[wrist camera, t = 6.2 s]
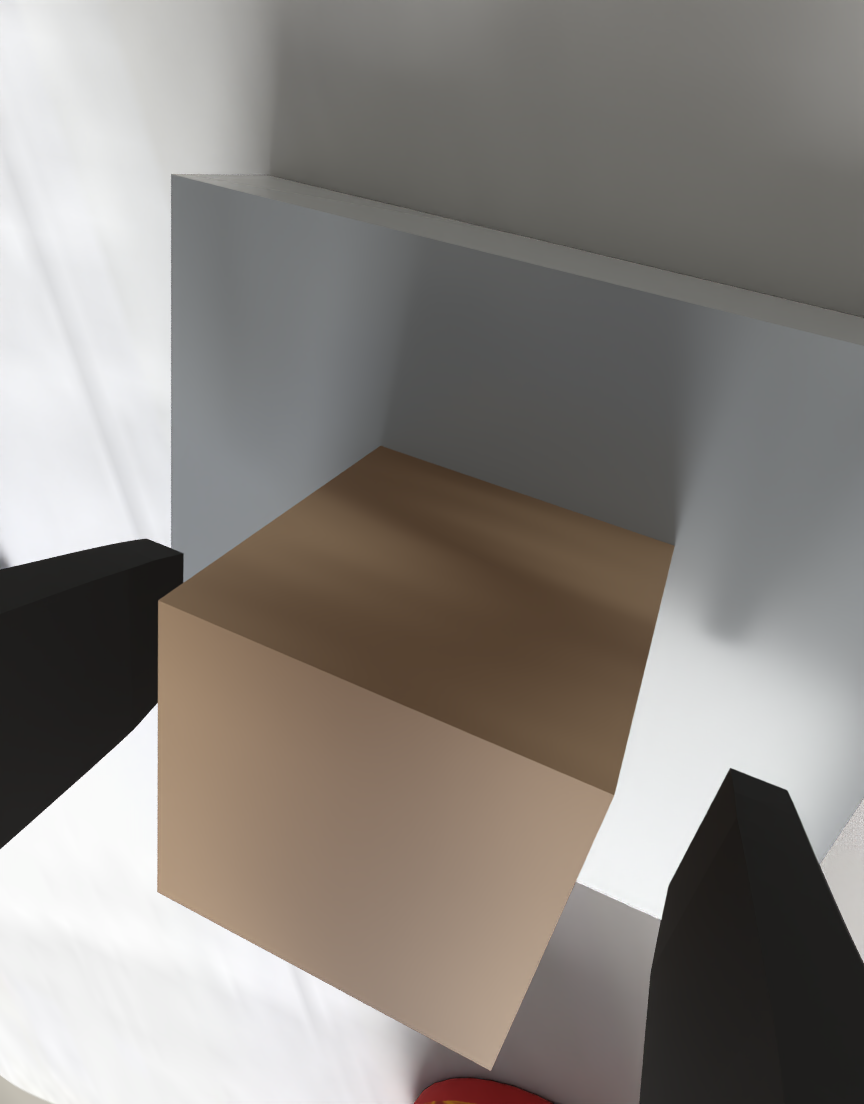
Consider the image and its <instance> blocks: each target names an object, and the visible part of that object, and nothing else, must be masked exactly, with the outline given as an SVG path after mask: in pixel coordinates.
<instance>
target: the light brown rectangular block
mask: <svg viewBox="0 0 864 1104" xmlns="http://www.w3.org/2000/svg"><path fill="white" fill-rule="evenodd" d="M674 547H675V546H674V545H671V544H668V543H665V542H662V541H659V540H656V539H653V538H650V537H647V536H644V535H641V534H639V533H636V532H633V531H630V530H627V529H624V528H621V527H618V526H615V525H612V524H609V523H606V522H603V521H600V520H597V519H594V518H592V517H589V516H586V515H583V514H580V513H577V512H574V511H571V510H568V509H565V508H562V507H559V506H556V505H553V504H550V503H547V502H545V501H542V500H539V499H536V498H533V497H530V496H527V495H524V494H521V493H518V492H515V491H512V490H509V489H506V488H503V487H500V486H498V485H495V484H492V483H489V482H486V481H483V480H480V479H477V478H474V477H471V476H468V475H465V474H462V473H459V472H456V471H453V470H451V469H448V468H445V467H442V466H439V465H436V464H433V463H430V462H427V461H424V460H421V459H418V458H415V457H412V456H409V455H406V454H404V453H401V452H398V451H395V450H392V449H389V448H386V447H383V446H379V447H378V448H376V449H375V450H373V451H372V452H371V453H369V454H368V455H366V456H365V457H363V458H362V459H361V460H359V461H358V462H356V463H355V464H353V465H352V466H351V467H349V468H348V469H346V470H345V471H343V472H342V473H340V474H339V475H338V476H336V477H335V478H333V479H332V480H330V481H329V482H328V483H326V484H325V485H323V486H322V487H320V488H319V489H317V490H316V491H315V492H313V493H312V494H310V495H309V496H307V497H306V498H305V499H303V500H302V501H300V502H299V503H297V504H296V505H295V506H293V507H292V508H290V509H289V510H287V511H286V512H284V513H283V514H282V515H280V516H279V517H277V518H276V519H274V520H273V521H272V522H270V523H269V524H267V525H266V526H264V527H263V528H261V529H260V530H259V531H257V532H256V533H254V534H253V535H251V536H250V537H249V538H247V539H246V540H244V541H243V542H241V543H240V544H239V545H237V546H236V547H234V548H233V549H231V550H230V551H228V552H227V553H226V554H224V555H223V556H221V557H220V558H218V559H217V560H216V561H214V562H213V563H211V564H210V565H208V566H207V567H205V568H204V569H203V570H201V571H200V572H198V573H197V574H195V575H194V576H193V577H191V578H190V579H188V580H187V581H185V582H184V583H183V584H181V585H180V586H178V587H177V588H175V589H174V590H172V591H171V592H170V593H168V594H167V595H165V596H164V597H162V598H161V599H160V600H158V876H157V892H158V893H160V894H162V895H164V896H166V897H168V898H170V899H172V900H173V901H175V902H177V903H179V904H181V905H183V906H185V907H186V908H188V909H190V910H192V911H194V912H196V913H198V914H199V915H201V916H203V917H205V918H207V919H209V920H211V921H212V922H214V923H216V924H218V925H220V926H222V927H224V928H225V929H227V930H229V931H231V932H233V933H235V934H237V935H238V936H240V937H242V938H244V939H246V940H248V941H250V942H252V943H253V944H255V945H257V946H259V947H261V948H263V949H265V950H266V951H268V952H270V953H272V954H274V955H276V956H278V957H279V958H281V959H283V960H285V961H287V962H289V963H291V964H292V965H294V966H296V967H298V968H300V969H302V970H304V971H305V972H307V973H309V974H311V975H313V976H315V977H317V978H318V979H320V980H322V981H324V982H326V983H328V984H330V985H332V986H333V987H335V988H337V989H339V990H341V991H343V992H345V993H346V994H348V995H350V996H352V997H354V998H356V999H358V1000H359V1001H361V1002H363V1003H365V1004H367V1005H369V1006H371V1007H372V1008H374V1009H376V1010H378V1011H380V1012H382V1013H384V1014H385V1015H387V1016H389V1017H391V1018H393V1019H395V1020H397V1021H398V1022H400V1023H402V1024H404V1025H406V1026H408V1027H410V1028H411V1029H413V1030H415V1031H417V1032H419V1033H421V1034H423V1035H425V1036H426V1037H428V1038H430V1039H432V1040H434V1041H436V1042H438V1043H439V1044H441V1045H443V1046H445V1047H447V1048H449V1049H451V1050H452V1051H454V1052H456V1053H458V1054H460V1055H462V1056H464V1057H465V1058H467V1059H469V1060H471V1061H473V1062H475V1063H477V1064H478V1065H480V1066H482V1067H484V1068H486V1069H488V1070H490V1071H491V1070H492V1067H493V1065H494V1063H495V1061H496V1058H497V1056H498V1054H499V1052H500V1050H501V1047H502V1045H503V1043H504V1041H505V1038H506V1036H507V1034H508V1032H509V1029H510V1027H511V1025H512V1023H513V1021H514V1018H515V1016H516V1014H517V1012H518V1009H519V1007H520V1005H521V1003H522V1000H523V998H524V996H525V994H526V992H527V989H528V987H529V985H530V983H531V980H532V978H533V976H534V974H535V971H536V969H537V967H538V965H539V962H540V960H541V958H542V956H543V954H544V951H545V949H546V947H547V945H548V942H549V940H550V938H551V936H552V933H553V931H554V929H555V927H556V925H557V922H558V920H559V918H560V916H561V913H562V911H563V909H564V907H565V904H566V902H567V900H568V898H569V896H570V893H571V891H572V889H573V887H574V884H575V882H576V880H577V878H578V875H579V873H580V871H581V869H582V867H583V864H584V862H585V860H586V858H587V855H588V853H589V851H590V849H591V846H592V844H593V842H594V840H595V838H596V835H597V833H598V831H599V829H600V826H601V824H602V822H603V820H604V817H605V815H606V813H607V811H608V809H609V806H610V804H611V802H612V800H613V797H614V795H615V791H616V787H617V783H618V778H619V774H620V770H621V766H622V762H623V758H624V754H625V750H626V745H627V741H628V737H629V733H630V729H631V725H632V721H633V717H634V712H635V708H636V704H637V700H638V696H639V692H640V688H641V683H642V679H643V675H644V671H645V667H646V663H647V659H648V655H649V650H650V646H651V642H652V638H653V634H654V630H655V626H656V622H657V617H658V613H659V609H660V605H661V601H662V597H663V593H664V589H665V584H666V580H667V576H668V572H669V568H670V564H671V560H672V555H673V551H674Z"/></svg>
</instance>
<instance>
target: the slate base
mask: <svg viewBox="0 0 864 1104" xmlns="http://www.w3.org/2000/svg"><path fill="white" fill-rule="evenodd" d="M379 446H383V447H386V448H389V449H392V450H395V451H398V452H401V453H404V454H406V455H409V456H412V457H415V458H418V459H421V460H424V461H427V462H430V463H433V464H436V465H439V466H442V467H445V468H448V469H451V470H453V471H456V472H459V473H462V474H465V475H468V476H471V477H474V478H477V479H480V480H483V481H486V482H489V483H492V484H495V485H498V486H500V487H503V488H506V489H509V490H512V491H515V492H518V493H521V494H524V495H527V496H530V497H533V498H536V499H539V500H542V501H545V502H547V503H550V504H553V505H556V506H559V507H562V508H565V509H568V510H571V511H574V512H577V513H580V514H583V515H586V516H589V517H592V518H594V519H597V520H600V521H603V522H606V523H609V524H612V525H615V526H618V527H621V528H624V529H627V530H630V531H633V532H636V533H639V534H641V535H644V536H647V537H650V538H653V539H656V540H659V541H662V542H665V543H668V544H671V545H674V546H675V547H674V551H673V555H672V560H671V564H670V568H669V572H668V576H667V580H666V584H665V589H664V593H663V597H662V601H661V605H660V609H659V613H658V617H657V622H656V626H655V630H654V634H653V638H652V642H651V646H650V650H649V655H648V659H647V663H646V667H645V671H644V675H643V679H642V683H641V688H640V692H639V696H638V700H637V704H636V708H635V712H634V717H633V721H632V725H631V729H630V733H629V737H628V741H627V745H626V750H625V754H624V758H623V762H622V766H621V770H620V774H619V778H618V783H617V787H616V791H615V795H614V797H613V800H612V802H611V804H610V806H609V809H608V811H607V813H606V815H605V817H604V820H603V822H602V824H601V826H600V829H599V831H598V833H597V835H596V838H595V840H594V842H593V844H592V846H591V849H590V851H589V853H588V855H587V858H586V860H585V862H584V864H583V867H582V869H581V871H580V873H579V875H578V878H577V880H576V882H577V883H579V884H582V885H584V886H586V887H588V888H590V889H593V890H595V891H597V892H599V893H602V894H604V895H606V896H608V897H610V898H613V899H615V900H617V901H619V902H622V903H624V904H626V905H628V906H630V907H633V908H635V909H637V910H639V911H642V912H644V913H646V914H648V915H650V916H653V917H655V918H657V919H659V920H661V919H662V914H663V909H664V904H665V900H666V895H667V890H668V886H669V884H670V882H671V880H672V878H673V876H674V874H675V872H676V870H677V868H678V866H679V864H680V863H681V861H682V859H683V857H684V855H685V853H686V851H687V849H688V847H689V845H690V843H691V842H692V840H693V838H694V836H695V834H696V832H697V830H698V828H699V826H700V824H701V822H702V821H703V819H704V817H705V815H706V813H707V811H708V809H709V807H710V805H711V803H712V801H713V800H714V798H715V796H716V794H717V792H718V790H719V788H720V786H721V784H722V782H723V780H724V779H725V777H726V775H727V773H728V771H729V769H730V768H732V769H735V770H737V771H740V772H742V773H745V774H747V775H750V776H753V777H755V778H758V779H760V780H763V781H765V782H768V783H770V784H773V785H775V786H778V787H781V788H783V789H786V790H787V791H788V793H789V795H790V797H791V799H792V801H793V803H794V805H795V808H796V810H797V812H798V815H799V817H800V819H801V822H802V824H803V827H804V829H805V831H806V834H807V836H808V839H809V841H810V843H811V846H812V848H813V851H814V853H815V855H816V858H817V860H818V862H819V865H820V863H821V862H822V860H823V859H824V857H825V856H826V854H827V853H828V851H829V850H830V848H831V847H832V845H833V844H834V842H835V841H836V839H837V838H838V836H839V835H840V833H841V832H842V830H843V829H844V827H845V826H846V824H847V823H848V821H849V820H850V818H851V817H852V815H853V814H854V812H855V811H856V809H857V808H858V806H859V805H860V803H861V802H862V800H863V799H864V318H863V317H859V316H854V315H850V314H846V313H842V312H838V311H834V310H829V309H825V308H821V307H817V306H813V305H809V304H804V303H800V302H796V301H792V300H788V299H783V298H779V297H775V296H771V295H767V294H763V293H758V292H754V291H750V290H746V289H742V288H738V287H733V286H729V285H725V284H721V283H717V282H712V281H708V280H704V279H700V278H696V277H692V276H687V275H683V274H679V273H675V272H671V271H667V270H662V269H658V268H654V267H650V266H646V265H641V264H637V263H633V262H629V261H625V260H621V259H616V258H612V257H608V256H604V255H600V254H595V253H591V252H587V251H583V250H579V249H575V248H570V247H566V246H562V245H558V244H554V243H550V242H545V241H541V240H537V239H533V238H529V237H524V236H520V235H516V234H512V233H508V232H504V231H499V230H495V229H491V228H487V227H483V226H479V225H474V224H470V223H466V222H462V221H458V220H453V219H449V218H445V217H441V216H437V215H433V214H428V213H424V212H420V211H416V210H412V209H408V208H403V207H399V206H395V205H391V204H387V203H382V202H378V201H374V200H370V199H366V198H362V197H357V196H353V195H349V194H345V193H341V192H337V191H332V190H328V189H324V188H320V187H316V186H311V185H307V184H303V183H299V182H295V181H291V180H286V179H282V178H278V177H274V176H270V175H208V174H171V549H174V550H177V551H179V552H182V553H184V569H183V583H184V582H185V581H187V580H188V579H190V578H191V577H193V576H194V575H195V574H197V573H198V572H200V571H201V570H203V569H204V568H205V567H207V566H208V565H210V564H211V563H213V562H214V561H216V560H217V559H218V558H220V557H221V556H223V555H224V554H226V553H227V552H228V551H230V550H231V549H233V548H234V547H236V546H237V545H239V544H240V543H241V542H243V541H244V540H246V539H247V538H249V537H250V536H251V535H253V534H254V533H256V532H257V531H259V530H260V529H261V528H263V527H264V526H266V525H267V524H269V523H270V522H272V521H273V520H274V519H276V518H277V517H279V516H280V515H282V514H283V513H284V512H286V511H287V510H289V509H290V508H292V507H293V506H295V505H296V504H297V503H299V502H300V501H302V500H303V499H305V498H306V497H307V496H309V495H310V494H312V493H313V492H315V491H316V490H317V489H319V488H320V487H322V486H323V485H325V484H326V483H328V482H329V481H330V480H332V479H333V478H335V477H336V476H338V475H339V474H340V473H342V472H343V471H345V470H346V469H348V468H349V467H351V466H352V465H353V464H355V463H356V462H358V461H359V460H361V459H362V458H363V457H365V456H366V455H368V454H369V453H371V452H372V451H373V450H375V449H376V448H378V447H379Z"/></svg>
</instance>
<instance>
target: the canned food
mask: <svg viewBox="0 0 864 1104" xmlns="http://www.w3.org/2000/svg"><path fill="white" fill-rule="evenodd" d="M414 1104H554V1103H552V1102H550V1101H548V1100H546V1099H544V1098H542V1097H540V1096H538V1095H535V1094H532V1093H530V1092H527V1091H525V1090H522V1089H519V1088H517V1087H514V1086H511V1085H507V1084H503V1083H499V1082H495V1081H492V1080H484V1079H476V1078H456V1079H448V1080H445V1081H441V1082H437V1083H434V1084H433V1085H431V1086H430V1087H428V1088H426V1089H425V1090H424V1091H423V1092H422V1093H421V1095H420V1096H419V1097H418V1098H417V1100H416V1101H415V1102H414Z"/></svg>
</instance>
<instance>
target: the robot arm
mask: <svg viewBox="0 0 864 1104" xmlns="http://www.w3.org/2000/svg"><path fill="white" fill-rule="evenodd" d="M183 569H184V553H182V552H179V551H177V550H174V549H171V548H169V547H166V546H164V545H161V544H159V543H156V542H154V541H151V540H149V539H140V540H134V541H127V542H121V543H116V544H111V545H106V546H101V547H97V548H92V549H88V550H83V551H79V552H74V553H70V554H66V555H61V556H57V557H53V558H49V559H44V560H40V561H36V562H31V563H27V564H23V565H19V566H14V567H10V568H6V569H1V570H0V849H1V848H2V847H3V846H4V845H6V844H7V843H8V842H9V841H10V840H11V839H12V838H13V837H15V836H16V835H17V834H18V833H19V832H20V831H21V830H22V829H24V828H25V827H26V826H27V825H28V824H29V823H30V822H31V821H33V820H34V819H35V818H36V817H37V816H38V815H39V814H40V813H42V812H43V811H44V810H45V809H46V808H47V807H48V806H49V805H51V804H52V803H53V802H54V801H55V800H56V799H57V798H58V797H60V796H61V795H62V794H63V793H64V792H65V791H66V790H67V789H69V788H70V787H71V786H72V785H73V784H74V783H75V782H76V781H78V780H79V779H80V778H81V777H82V776H83V775H84V774H85V773H87V772H88V771H89V770H90V769H91V768H92V767H93V766H94V765H95V764H97V763H98V762H99V761H100V760H101V759H102V758H103V757H104V756H105V755H106V754H108V753H109V752H110V751H111V750H112V749H113V748H114V747H115V746H116V745H117V744H119V743H120V742H121V741H122V740H123V739H124V738H125V737H126V736H127V735H128V734H129V733H130V732H131V731H133V730H134V729H135V727H136V726H137V725H138V724H139V723H140V722H141V721H142V720H143V718H144V717H145V716H146V715H147V714H148V713H149V712H150V711H151V709H152V708H153V707H154V706H155V705H156V704H157V703H158V600H160V599H161V598H162V597H164V596H165V595H167V594H168V593H170V592H171V591H172V590H174V589H175V588H177V587H178V586H180V585H181V584H183ZM639 1104H864V963H863V961H862V959H861V957H860V954H859V952H858V950H857V948H856V946H855V944H854V942H853V940H852V938H851V935H850V933H849V931H848V929H847V926H846V924H845V922H844V920H843V918H842V915H841V913H840V911H839V909H838V906H837V904H836V902H835V899H834V897H833V895H832V893H831V890H830V888H829V886H828V883H827V881H826V879H825V876H824V874H823V872H822V869H821V867H820V865H819V862H818V860H817V858H816V855H815V853H814V851H813V848H812V846H811V843H810V841H809V839H808V836H807V834H806V831H805V829H804V827H803V824H802V822H801V819H800V817H799V815H798V812H797V810H796V808H795V805H794V803H793V801H792V799H791V797H790V795H789V793H788V791H787V790H786V789H783V788H781V787H778V786H775V785H773V784H770V783H768V782H765V781H763V780H760V779H758V778H755V777H753V776H750V775H747V774H745V773H742V772H740V771H737V770H735V769H732V768H730V769H729V771H728V773H727V775H726V777H725V779H724V780H723V782H722V784H721V786H720V788H719V790H718V792H717V794H716V796H715V798H714V800H713V801H712V803H711V805H710V807H709V809H708V811H707V813H706V815H705V817H704V819H703V821H702V822H701V824H700V826H699V828H698V830H697V832H696V834H695V836H694V838H693V840H692V842H691V843H690V845H689V847H688V849H687V851H686V853H685V855H684V857H683V859H682V861H681V863H680V864H679V866H678V868H677V870H676V872H675V874H674V876H673V878H672V880H671V882H670V884H669V886H668V890H667V895H666V900H665V904H664V909H663V914H662V919H661V923H660V928H659V933H658V938H657V943H656V948H655V953H654V958H653V964H652V969H651V976H650V987H649V997H648V1009H647V1020H646V1031H645V1043H644V1054H643V1066H642V1078H641V1090H640V1102H639Z"/></svg>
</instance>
